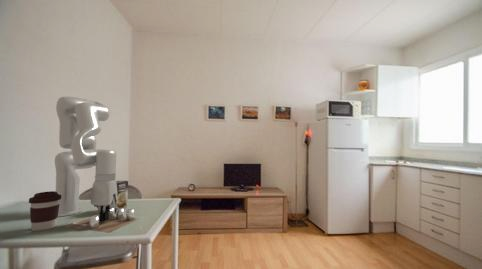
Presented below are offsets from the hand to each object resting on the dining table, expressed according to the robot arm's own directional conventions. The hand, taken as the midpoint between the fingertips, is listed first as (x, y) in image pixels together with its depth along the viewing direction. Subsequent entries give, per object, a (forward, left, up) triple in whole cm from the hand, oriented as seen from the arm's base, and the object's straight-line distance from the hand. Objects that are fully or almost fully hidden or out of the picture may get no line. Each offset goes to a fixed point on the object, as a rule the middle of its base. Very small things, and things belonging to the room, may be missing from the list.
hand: (103, 220), depth 91 cm
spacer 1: (+1, -6, -1) cm, 6 cm away
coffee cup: (-20, -10, -2) cm, 22 cm away
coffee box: (-9, +15, -2) cm, 18 cm away
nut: (-4, 0, -1) cm, 4 cm away
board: (-1, 0, -2) cm, 2 cm away
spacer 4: (+8, +6, -1) cm, 10 cm away
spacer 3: (+3, +6, -1) cm, 7 cm away
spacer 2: (-3, +6, -1) cm, 7 cm away
